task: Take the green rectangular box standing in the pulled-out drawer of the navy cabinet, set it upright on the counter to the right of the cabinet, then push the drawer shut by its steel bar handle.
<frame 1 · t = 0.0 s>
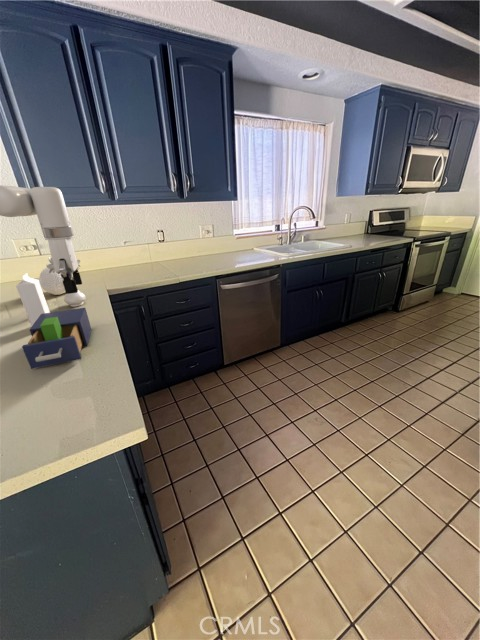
hand: (74, 288, 85), 21 cm above the worktop, tool pointing down, fingers open, 9 cm apart
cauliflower: (61, 292, 153), on the worktop
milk: (43, 326, 111), on the worktop
drawer: (55, 346, 84), point 5 cm above the worktop, slide at 9.5 cm, touching green rectangular box
cabinet: (67, 341, 98), on the worktop
green rectangular box: (59, 351, 87), point 2 cm above the worktop, touching drawer
flower vase: (76, 304, 134), on the worktop
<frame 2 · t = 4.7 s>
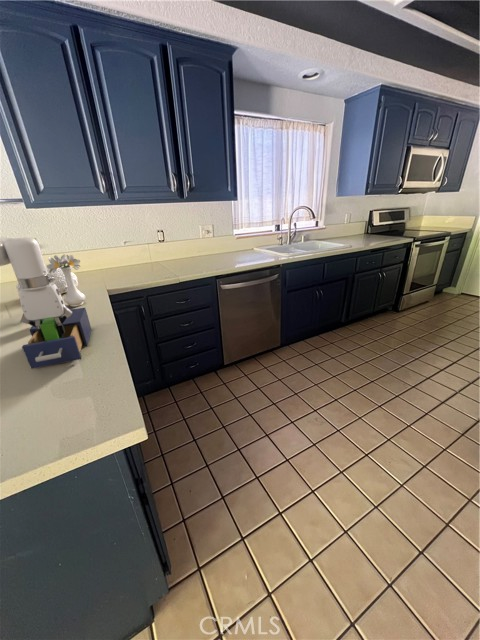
hand: (54, 336, 85), 8 cm above the worktop, tool pointing down, fingers closed on green rectangular box, 3 cm apart
green rectangular box: (59, 351, 87), point 2 cm above the worktop, touching drawer, gripper
everything else where it was.
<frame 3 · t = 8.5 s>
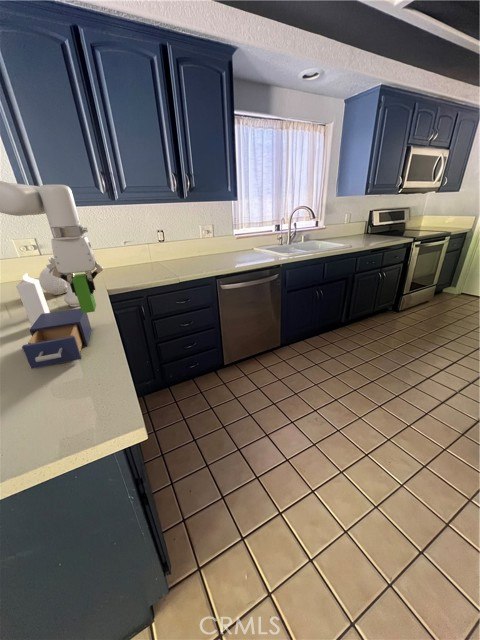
hand: (84, 293, 83), 21 cm above the worktop, tool pointing down, fingers closed on green rectangular box, 3 cm apart
drawer: (55, 346, 84), point 5 cm above the worktop, slide at 9.5 cm
green rectangular box: (89, 309, 85), point 15 cm above the worktop, touching gripper
everything else where it was.
when the fingers open (6 cm above the worktop, at t = 12.7 s): green rectangular box stays where it is, on the worktop.
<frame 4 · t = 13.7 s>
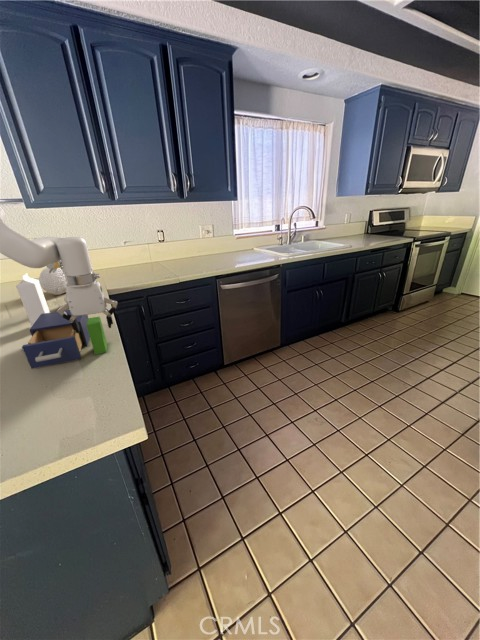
hand: (94, 328, 88), 8 cm above the worktop, tool pointing down, fingers open, 9 cm apart
green rectangular box: (101, 349, 92), on the worktop
everything else where it was.
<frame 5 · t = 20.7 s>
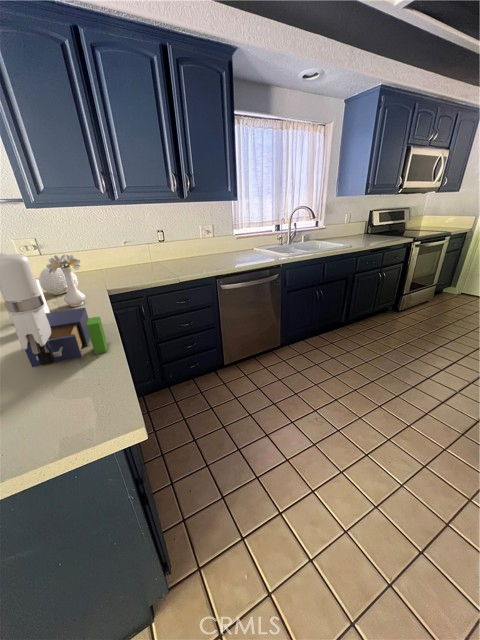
hand: (48, 363, 76), 5 cm above the worktop, tool pointing down, fingers closed
drawer: (56, 345, 85), point 5 cm above the worktop, slide at 8.6 cm, touching gripper
everything else where it was.
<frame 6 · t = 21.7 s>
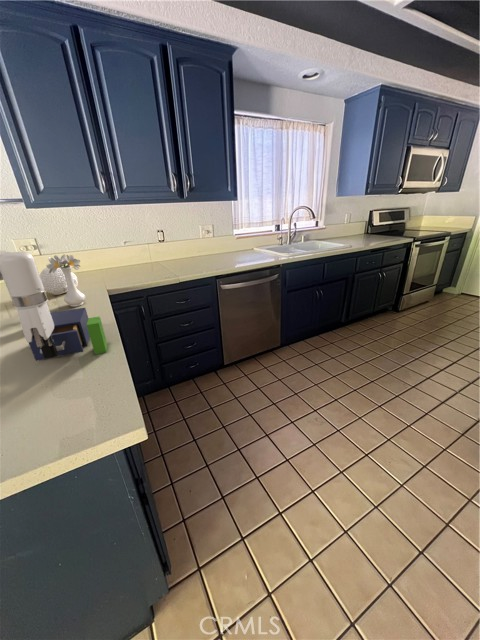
hand: (51, 356, 79), 5 cm above the worktop, tool pointing down, fingers closed
drawer: (58, 340, 88), point 5 cm above the worktop, slide at 4.6 cm, touching gripper
everything else where it was.
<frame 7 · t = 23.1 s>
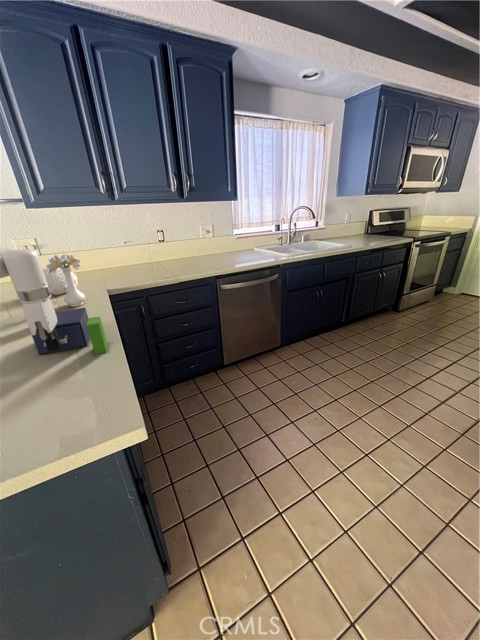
hand: (54, 349, 83), 5 cm above the worktop, tool pointing down, fingers closed
drawer: (61, 334, 92), point 5 cm above the worktop, slide at 0.0 cm, touching cabinet, gripper
everything else where it was.
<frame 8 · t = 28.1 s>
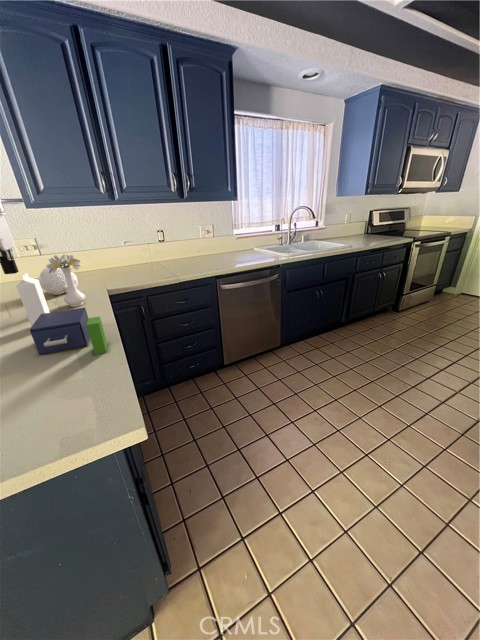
hand: (11, 273, 82), 27 cm above the worktop, tool pointing down, fingers closed
drawer: (61, 334, 92), point 5 cm above the worktop, slide at 0.0 cm, touching cabinet
everything else where it was.
at the end: green rectangular box inside the target area (0.1 cm from its centre), on the worktop; green rectangular box tilted 0°; drawer slide at 0.0 cm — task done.
